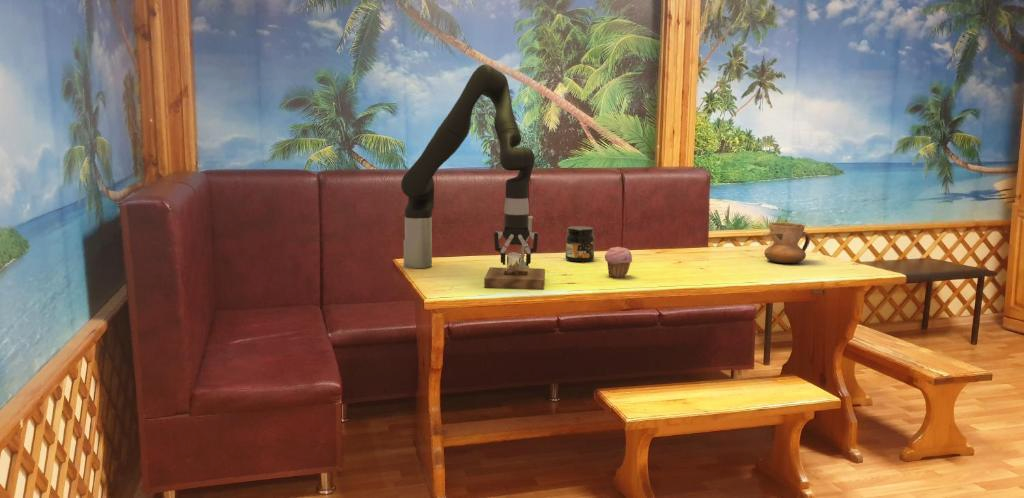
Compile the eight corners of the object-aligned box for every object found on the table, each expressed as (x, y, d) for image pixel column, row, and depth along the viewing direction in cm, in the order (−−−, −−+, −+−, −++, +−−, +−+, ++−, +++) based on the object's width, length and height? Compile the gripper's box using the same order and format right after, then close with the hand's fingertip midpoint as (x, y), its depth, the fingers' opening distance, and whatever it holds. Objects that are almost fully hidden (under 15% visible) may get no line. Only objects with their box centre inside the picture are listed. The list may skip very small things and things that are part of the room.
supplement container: (564, 262, 288) (565, 229, 286) (566, 257, 298) (566, 225, 296) (593, 263, 286) (594, 230, 284) (594, 258, 297) (595, 226, 295)
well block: (484, 287, 243) (484, 278, 242) (489, 276, 261) (489, 267, 260) (543, 289, 242) (543, 279, 241) (544, 277, 259) (544, 268, 259)
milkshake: (501, 279, 253) (504, 248, 251) (518, 280, 254) (521, 249, 252) (502, 282, 249) (505, 250, 247) (520, 283, 249) (522, 251, 247)
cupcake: (599, 275, 265) (600, 245, 263) (620, 273, 269) (621, 244, 267) (615, 280, 257) (616, 249, 255) (636, 278, 261) (638, 247, 260)
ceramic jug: (771, 266, 286) (774, 226, 284) (754, 258, 300) (756, 221, 298) (818, 265, 289) (821, 226, 286) (799, 258, 303) (802, 221, 300)
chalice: (530, 271, 270) (531, 218, 267) (510, 270, 271) (511, 217, 268) (534, 267, 277) (534, 216, 274) (514, 266, 278) (515, 215, 275)
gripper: (492, 213, 244) (491, 266, 247) (539, 214, 243) (538, 267, 246) (494, 210, 252) (493, 262, 254) (540, 211, 251) (538, 263, 253)
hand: (515, 264), depth 250 cm, fingers open, 6 cm apart
